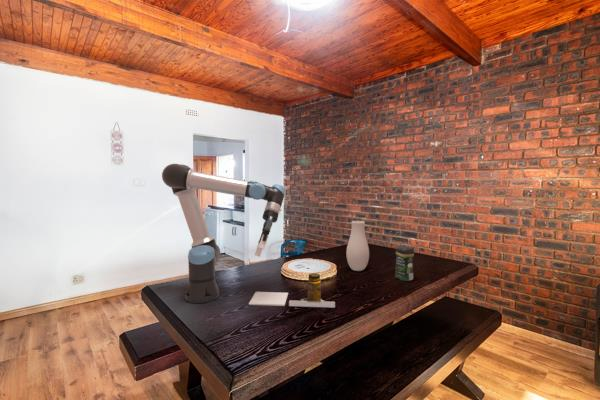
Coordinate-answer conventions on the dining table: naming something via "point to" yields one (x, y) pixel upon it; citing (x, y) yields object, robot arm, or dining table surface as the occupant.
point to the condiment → (314, 288)
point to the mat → (269, 298)
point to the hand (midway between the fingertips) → (259, 252)
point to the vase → (357, 247)
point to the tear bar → (311, 303)
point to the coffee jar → (404, 263)
